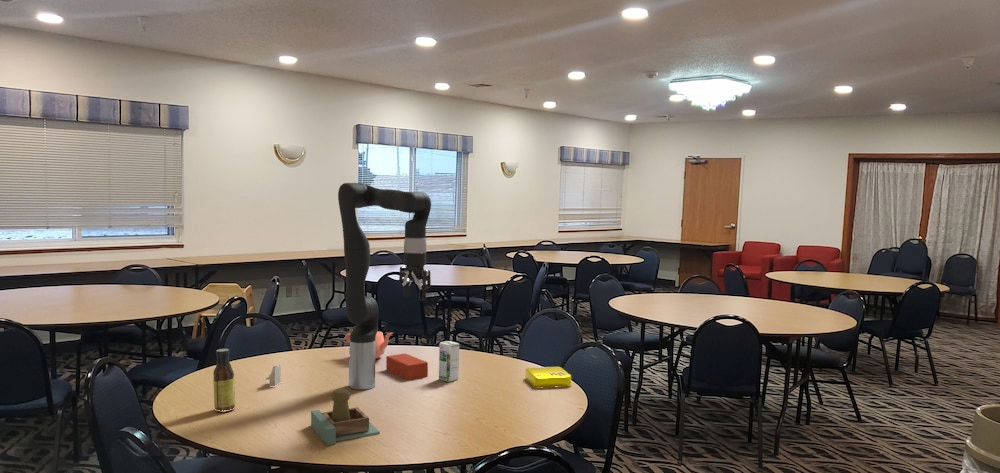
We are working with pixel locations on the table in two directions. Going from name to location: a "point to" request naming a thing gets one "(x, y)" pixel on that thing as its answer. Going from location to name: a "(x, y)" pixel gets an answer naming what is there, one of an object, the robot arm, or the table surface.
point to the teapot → (376, 343)
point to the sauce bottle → (223, 382)
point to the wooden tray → (350, 422)
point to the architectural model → (275, 376)
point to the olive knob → (340, 405)
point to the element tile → (547, 377)
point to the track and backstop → (334, 429)
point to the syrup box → (448, 361)
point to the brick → (407, 366)
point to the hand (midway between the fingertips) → (414, 298)
